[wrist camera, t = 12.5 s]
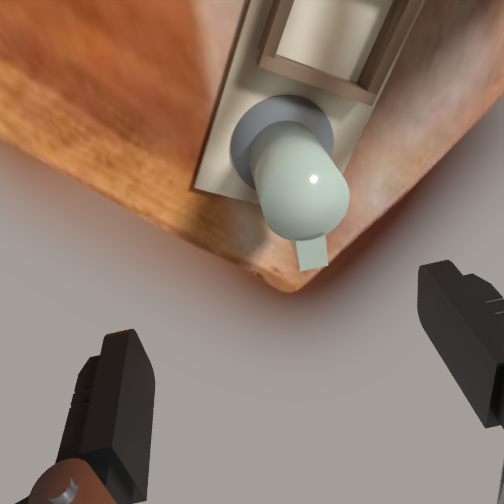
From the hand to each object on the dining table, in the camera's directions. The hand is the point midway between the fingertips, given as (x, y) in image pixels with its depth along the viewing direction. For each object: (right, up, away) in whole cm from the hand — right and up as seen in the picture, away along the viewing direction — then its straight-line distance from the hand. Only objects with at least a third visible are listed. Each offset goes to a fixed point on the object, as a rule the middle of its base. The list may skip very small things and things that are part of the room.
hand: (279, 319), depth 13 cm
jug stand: (+4, +17, +29) cm, 34 cm away
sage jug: (+3, +10, +32) cm, 34 cm away
